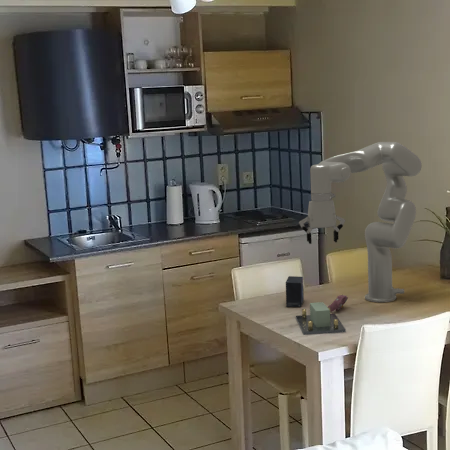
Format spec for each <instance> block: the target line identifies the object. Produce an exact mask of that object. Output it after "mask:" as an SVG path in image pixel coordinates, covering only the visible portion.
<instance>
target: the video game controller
mask: <svg viewBox="0 0 450 450" xmlns="http://www.w3.org/2000/svg"><path fill="white" fill-rule="evenodd" d="M348 298H349V297H348V296H347V295H344V294H340V295H337V296H336V299H334V300H333V302H332V303H331V304H330V305H328V306H327V307H329V308H330V313H333V312H334V311H336V312H338V311H339V310H340V309H342V308H344V305H345V304H346V303H347V300H348Z"/></svg>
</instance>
